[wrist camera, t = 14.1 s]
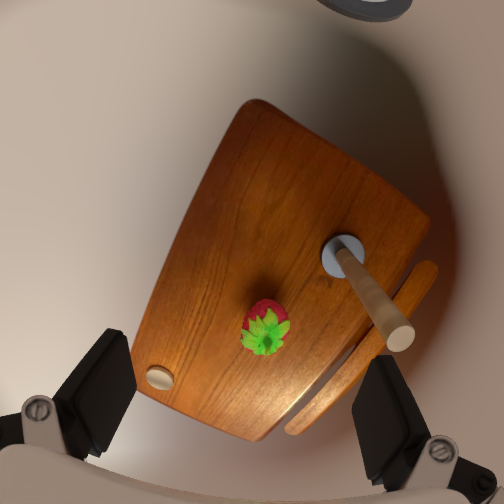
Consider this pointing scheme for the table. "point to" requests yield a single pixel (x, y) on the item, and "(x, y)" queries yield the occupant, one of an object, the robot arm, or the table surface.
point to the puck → (160, 378)
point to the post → (366, 289)
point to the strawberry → (265, 327)
